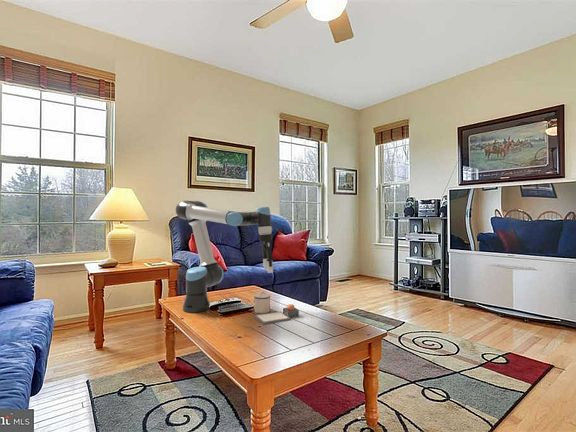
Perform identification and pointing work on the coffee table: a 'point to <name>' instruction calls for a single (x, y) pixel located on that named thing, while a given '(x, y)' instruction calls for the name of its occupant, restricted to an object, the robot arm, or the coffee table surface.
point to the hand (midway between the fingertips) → (268, 271)
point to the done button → (290, 307)
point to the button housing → (291, 312)
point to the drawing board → (272, 317)
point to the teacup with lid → (262, 302)
